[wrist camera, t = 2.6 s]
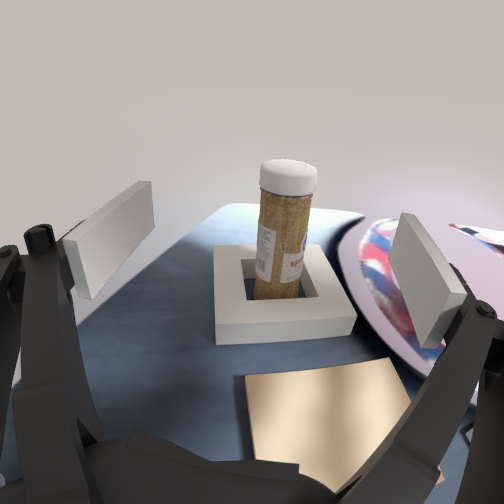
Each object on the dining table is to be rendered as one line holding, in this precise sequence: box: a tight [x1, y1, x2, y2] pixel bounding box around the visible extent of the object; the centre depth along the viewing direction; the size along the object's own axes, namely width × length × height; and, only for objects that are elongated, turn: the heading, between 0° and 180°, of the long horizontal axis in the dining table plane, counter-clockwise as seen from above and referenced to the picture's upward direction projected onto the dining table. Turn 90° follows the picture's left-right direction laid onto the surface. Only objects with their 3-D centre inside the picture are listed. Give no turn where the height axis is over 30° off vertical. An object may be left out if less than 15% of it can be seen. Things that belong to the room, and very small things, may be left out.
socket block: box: [213, 245, 357, 345], centre depth 30 cm, size 12×12×2 cm
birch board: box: [245, 358, 445, 493], centre depth 17 cm, size 12×12×1 cm
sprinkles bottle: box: [253, 159, 317, 300], centre depth 27 cm, size 5×5×13 cm
